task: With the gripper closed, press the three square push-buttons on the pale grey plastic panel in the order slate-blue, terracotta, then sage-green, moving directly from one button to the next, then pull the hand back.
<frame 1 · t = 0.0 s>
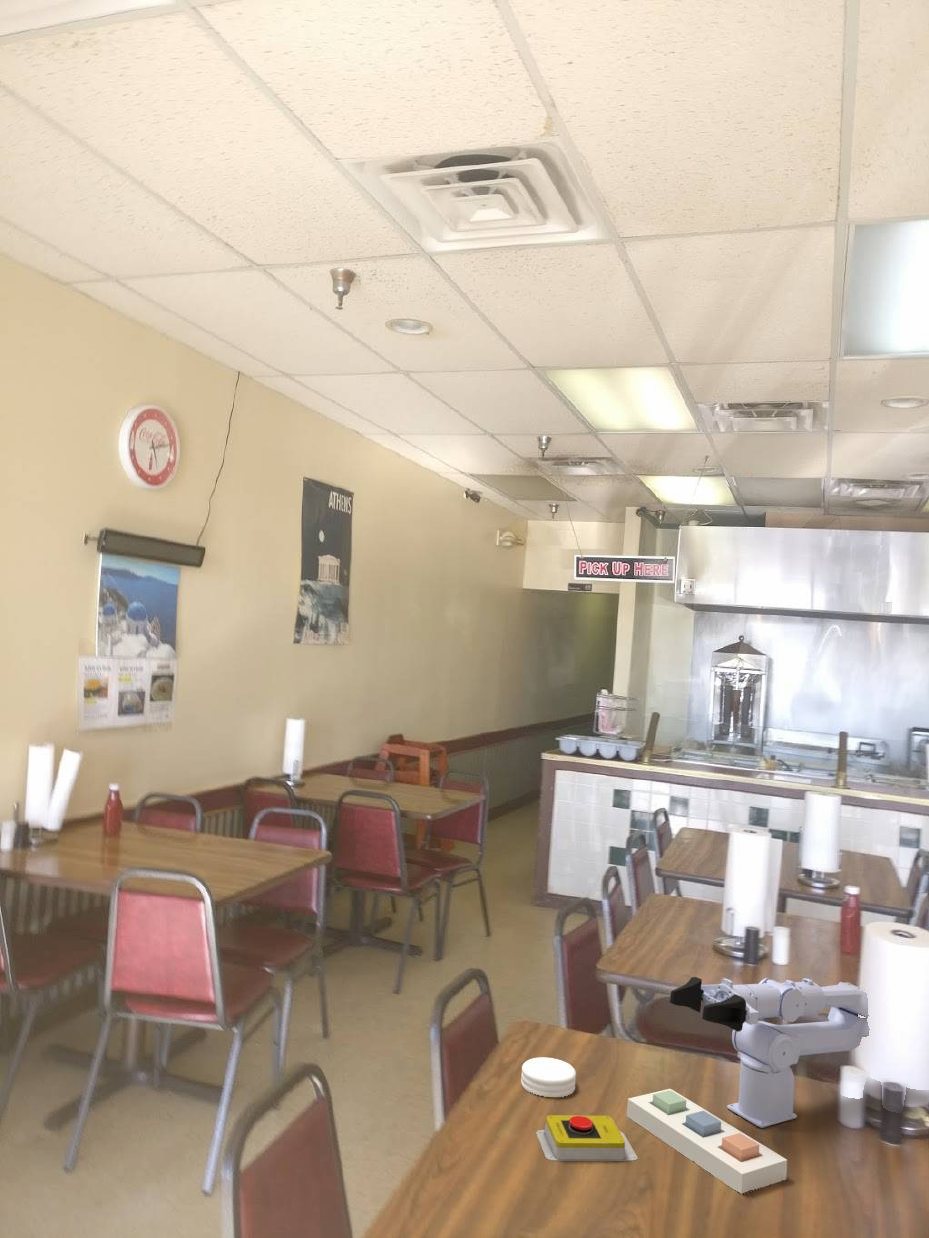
hand: (687, 1005, 159), 22 cm above the table, tool horizontal, fingers open, 7 cm apart
sage-green button: (669, 1105, 163), point 3 cm above the table, slide at 0.0 cm
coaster: (547, 1088, 174), on the table
slate-blue button: (703, 1127, 156), point 3 cm above the table, slide at 0.0 cm
button panel: (702, 1145, 156), on the table
terracotta button: (740, 1150, 149), point 3 cm above the table, slide at 0.0 cm
emergency button: (585, 1149, 153), on the table
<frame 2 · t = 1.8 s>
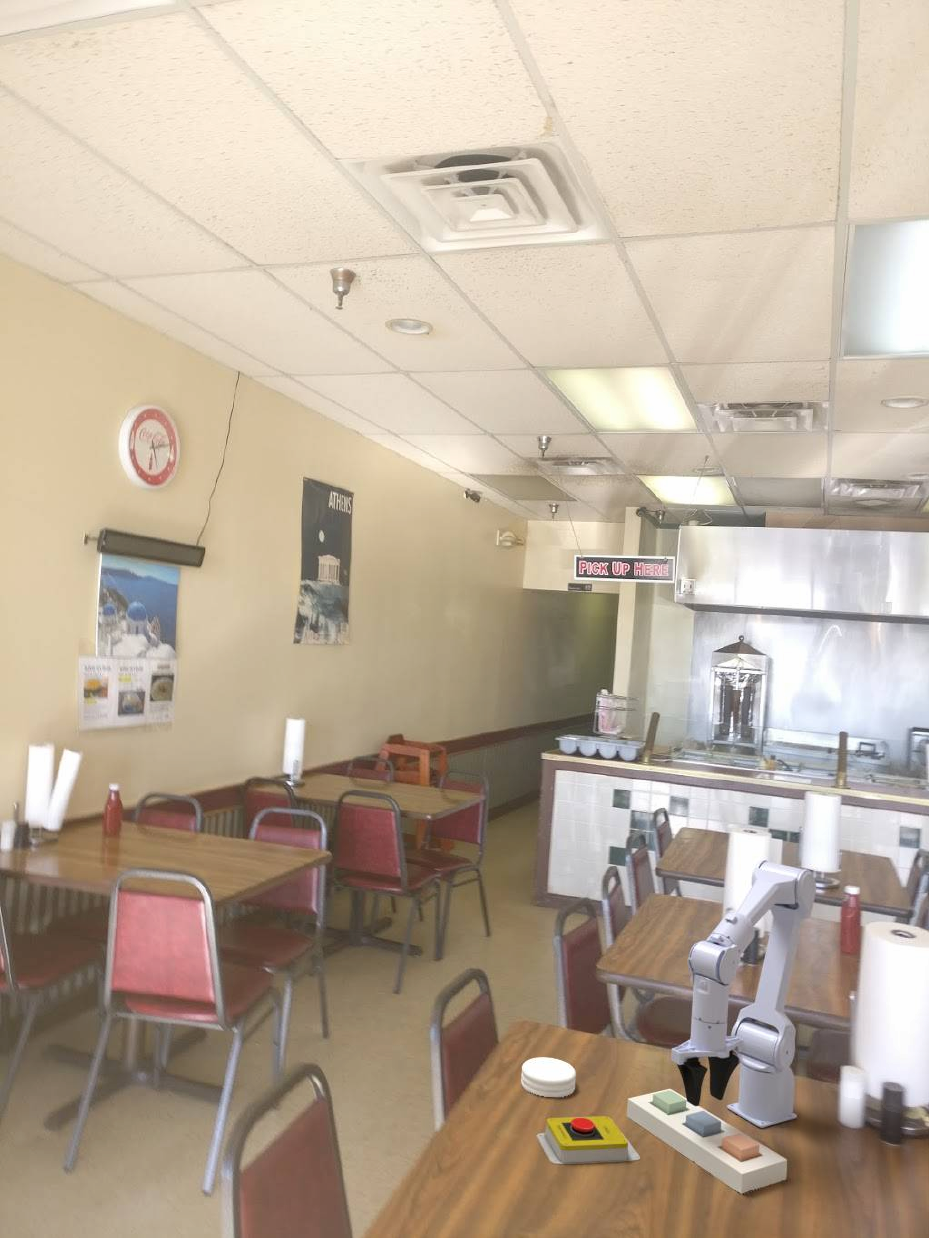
hand: (704, 1100, 156), 7 cm above the table, tool pointing down, fingers open, 5 cm apart
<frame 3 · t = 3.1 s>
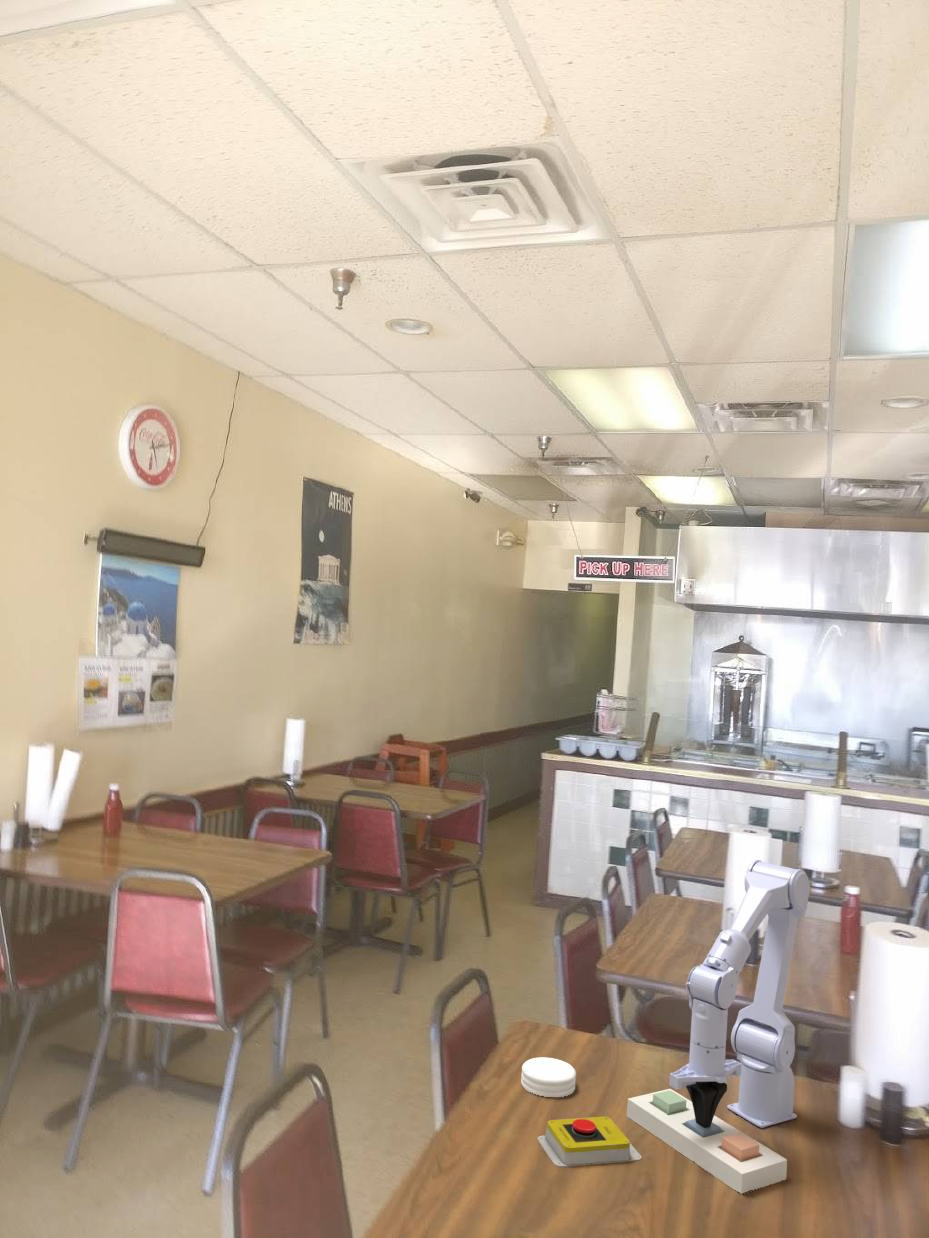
hand: (703, 1124, 156), 3 cm above the table, tool pointing down, fingers closed, pressing on slate-blue button
slate-blue button: (702, 1133, 156), point 2 cm above the table, slide at 1.0 cm, touching gripper
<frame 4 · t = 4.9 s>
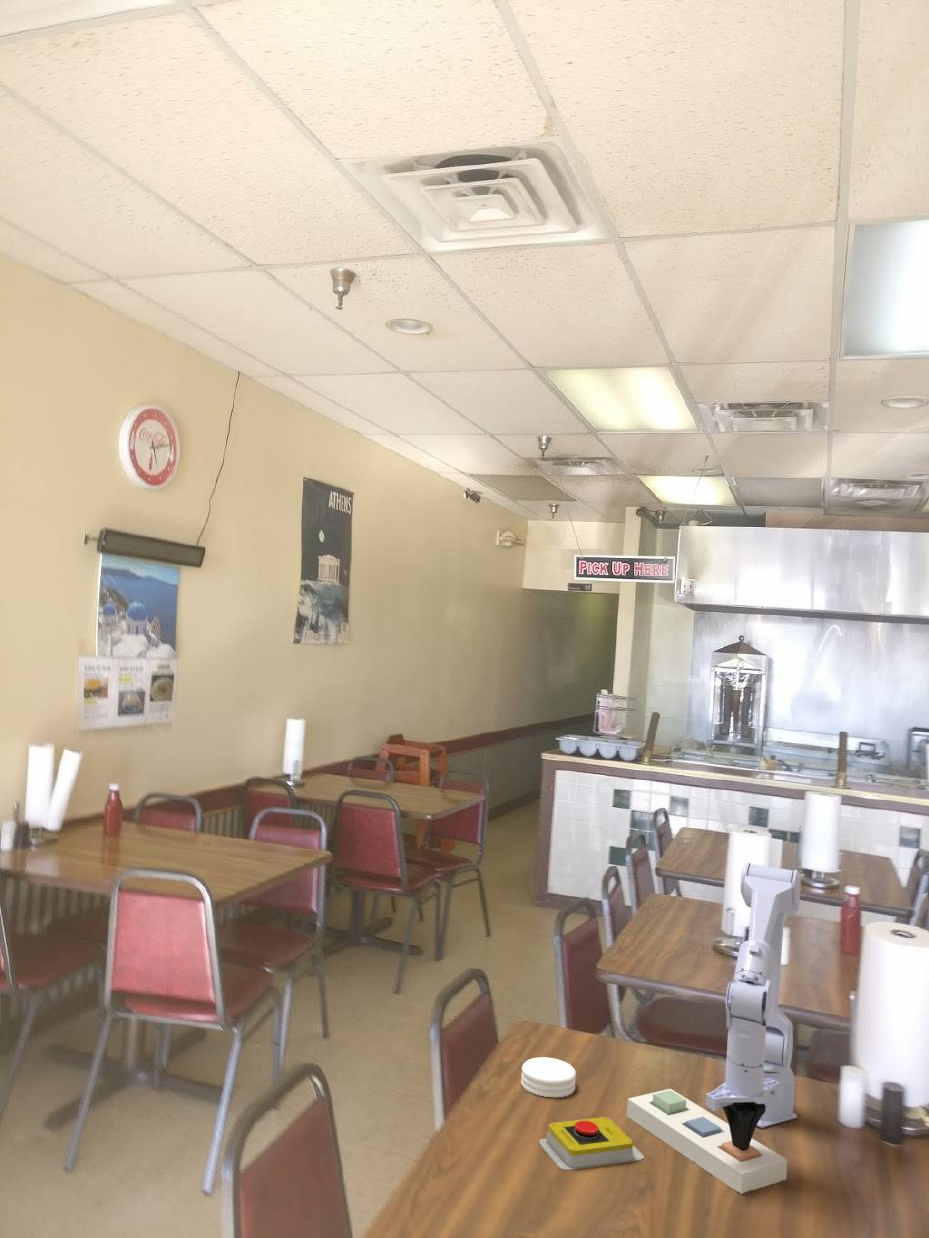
hand: (740, 1147, 149), 4 cm above the table, tool pointing down, fingers closed, pressing on terracotta button
slate-blue button: (702, 1133, 156), point 2 cm above the table, slide at 1.0 cm
terracotta button: (739, 1156, 149), point 2 cm above the table, slide at 0.9 cm, touching gripper
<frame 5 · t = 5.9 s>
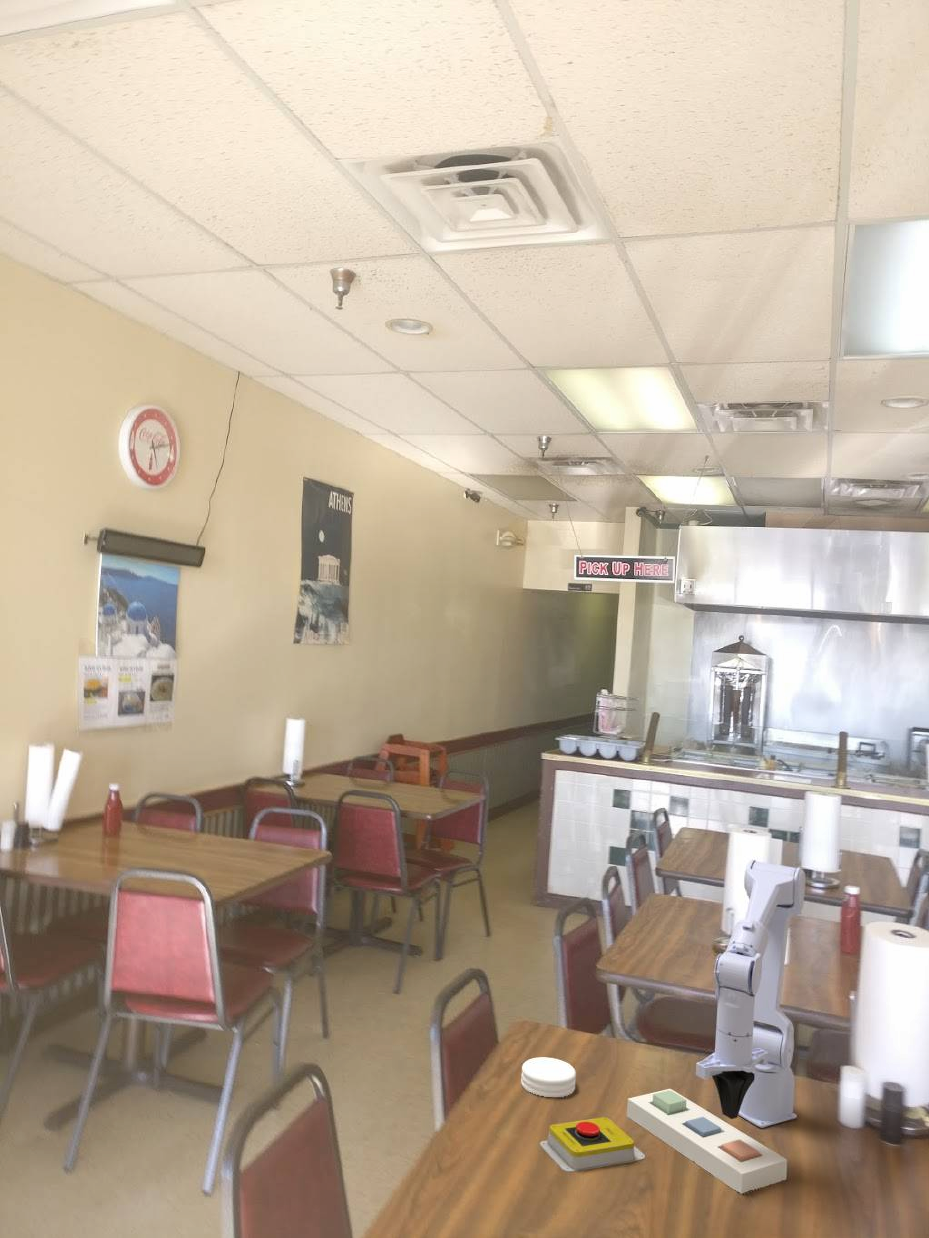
hand: (729, 1115, 151), 7 cm above the table, tool pointing down, fingers closed
terracotta button: (739, 1157, 149), point 2 cm above the table, slide at 1.0 cm
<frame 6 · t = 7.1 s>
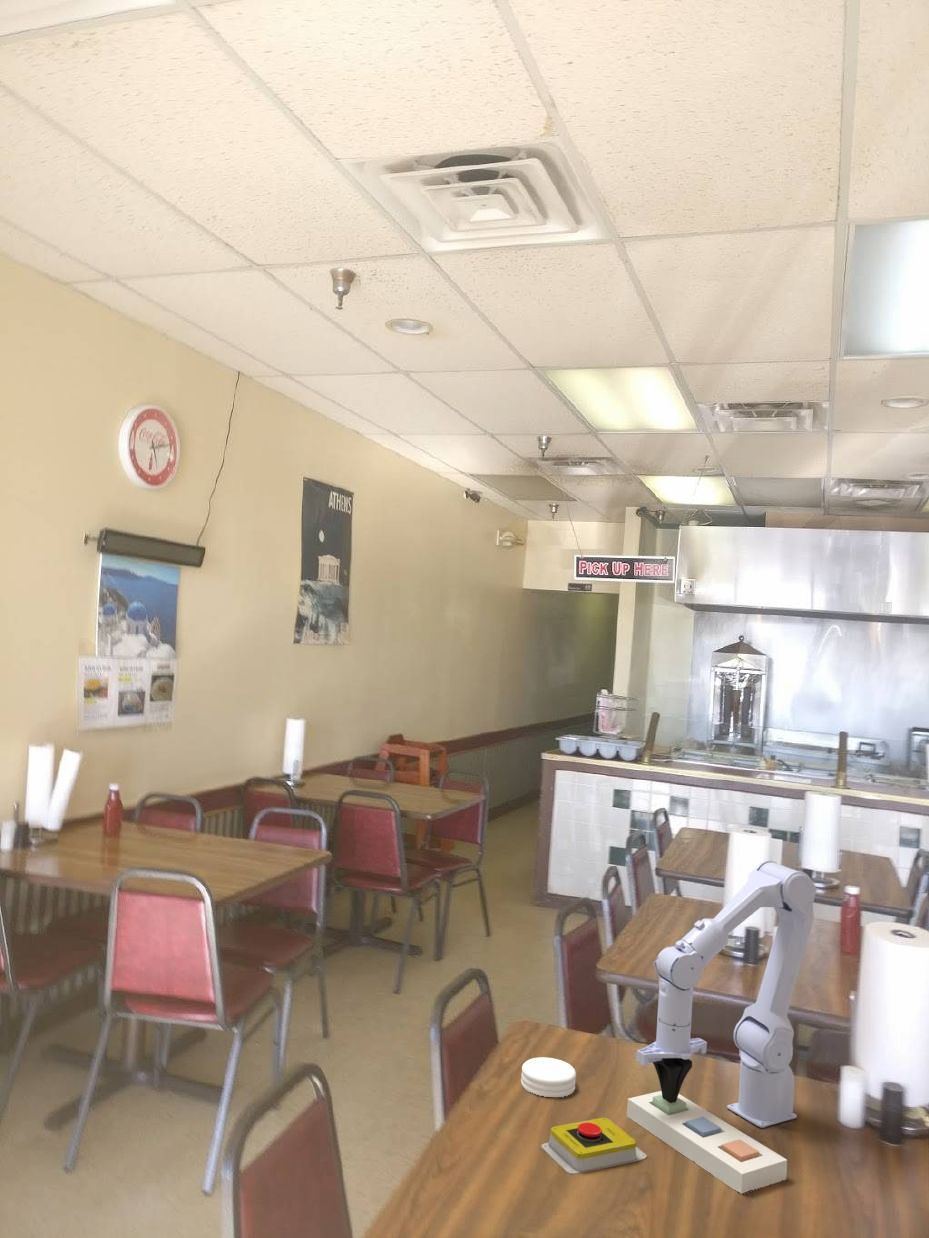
hand: (669, 1100, 163), 4 cm above the table, tool pointing down, fingers closed, pressing on sage-green button
sage-green button: (668, 1108, 163), point 3 cm above the table, slide at 0.4 cm, touching gripper
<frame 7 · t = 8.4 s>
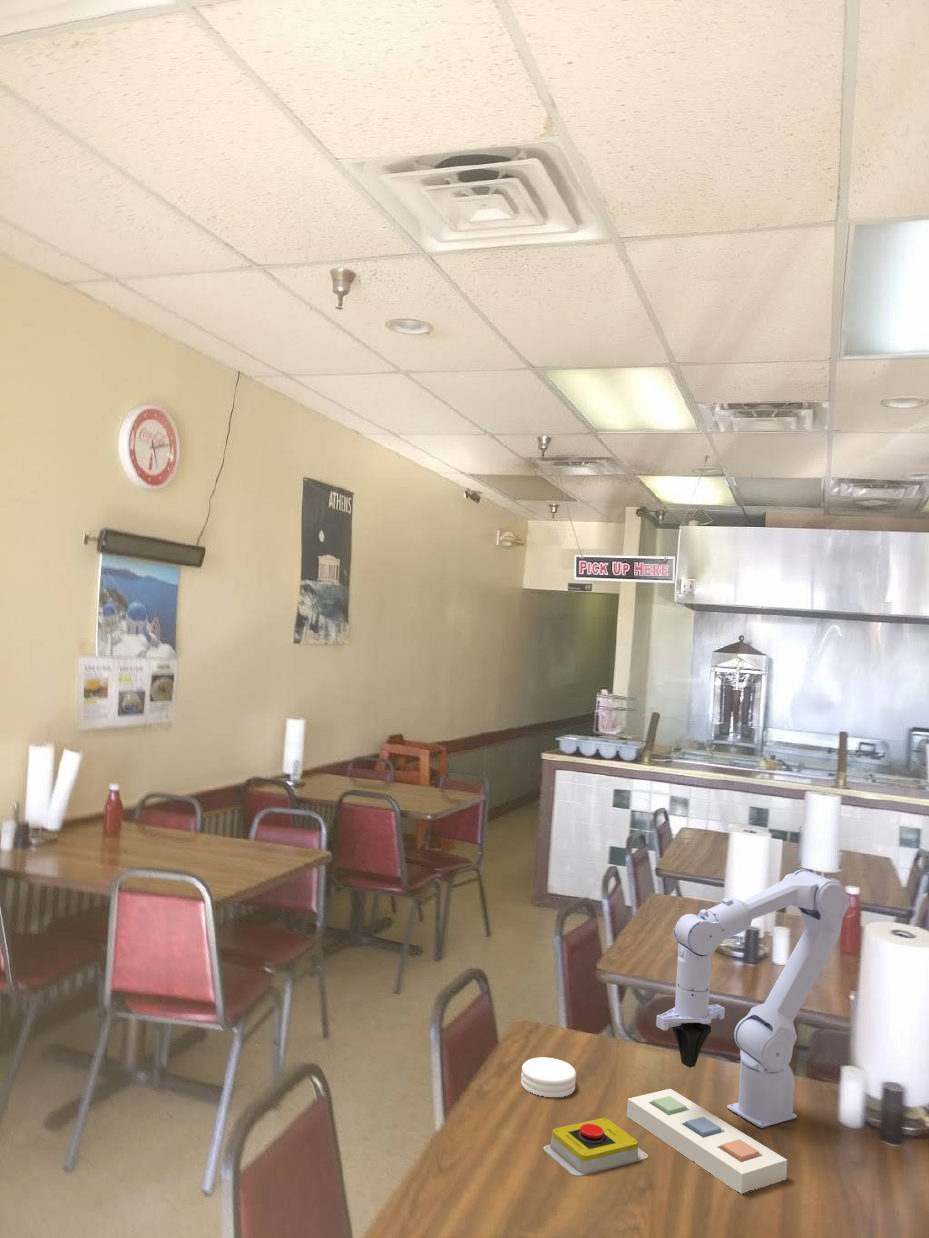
hand: (688, 1064, 165), 9 cm above the table, tool pointing down, fingers closed
sage-green button: (668, 1111, 163), point 2 cm above the table, slide at 1.0 cm
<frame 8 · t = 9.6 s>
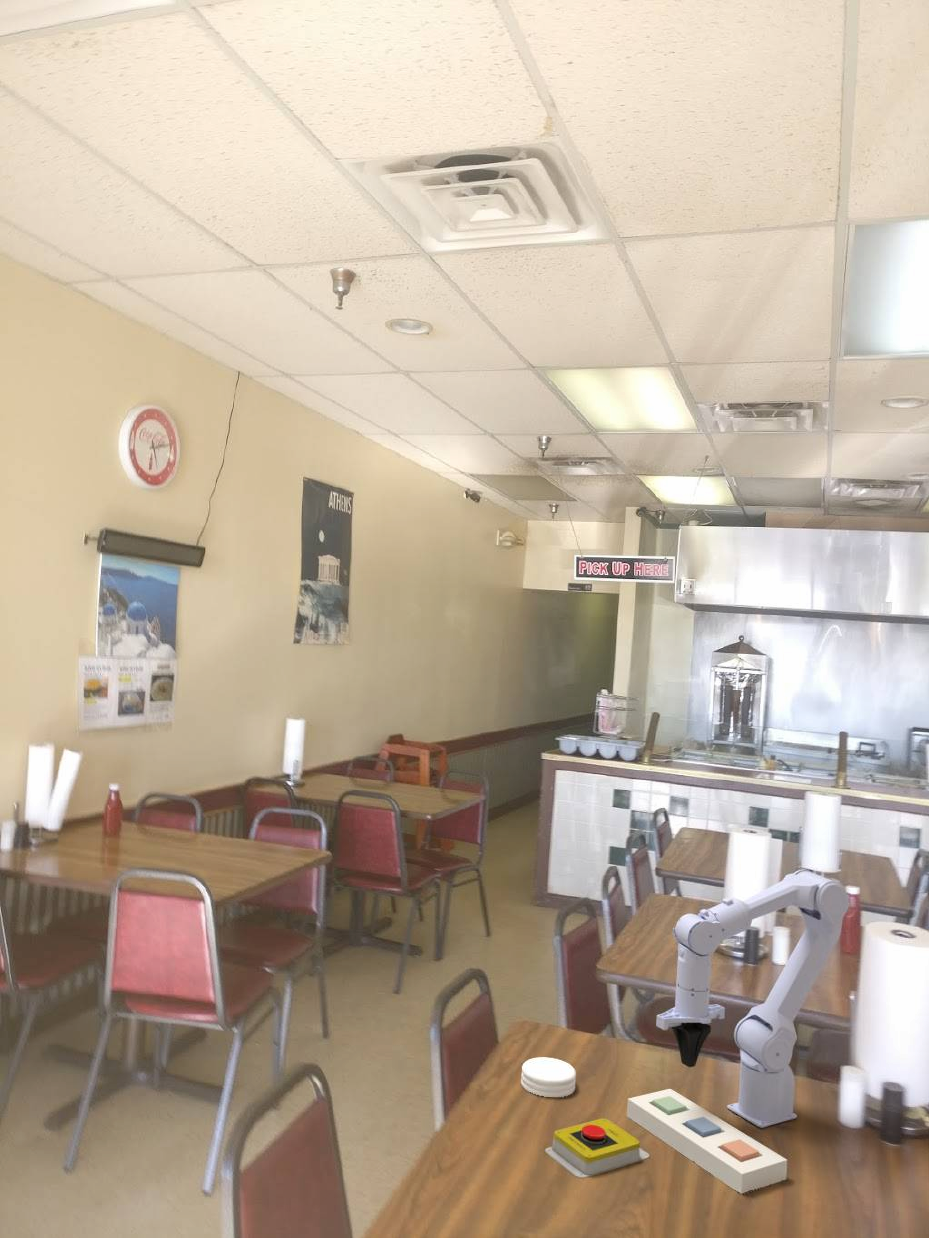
hand: (688, 1064, 165), 9 cm above the table, tool pointing down, fingers closed
at the end: slate-blue button slide at 1.0 cm; terracotta button slide at 1.0 cm; sage-green button slide at 1.0 cm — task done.
